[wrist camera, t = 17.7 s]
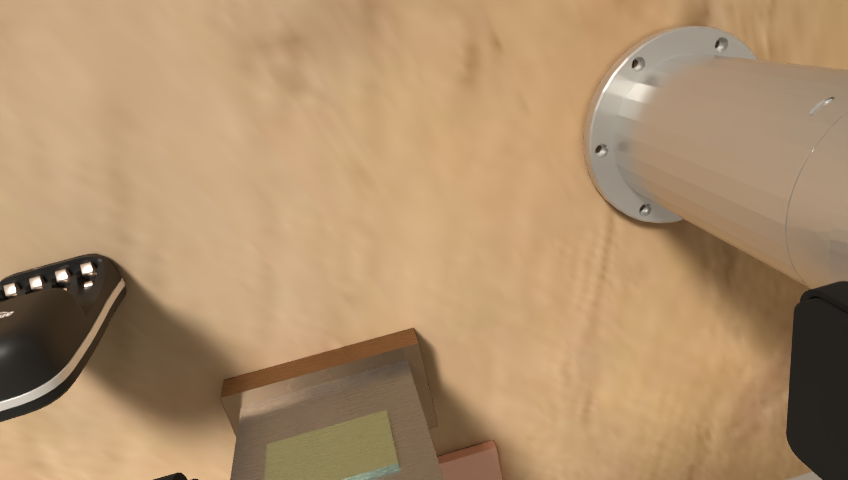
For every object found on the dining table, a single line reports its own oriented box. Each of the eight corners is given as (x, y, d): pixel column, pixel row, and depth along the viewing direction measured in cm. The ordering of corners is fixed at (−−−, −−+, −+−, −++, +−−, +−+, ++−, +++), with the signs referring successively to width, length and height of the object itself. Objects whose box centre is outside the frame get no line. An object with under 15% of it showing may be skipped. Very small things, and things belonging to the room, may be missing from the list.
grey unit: (413, 327, 41) (465, 475, 28) (432, 408, 43) (488, 575, 31) (223, 380, 39) (187, 559, 26) (255, 459, 42) (237, 658, 29)
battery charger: (107, 234, 34) (24, 332, 24) (134, 290, 36) (67, 406, 26) (-17, 267, 34) (-158, 384, 23) (16, 323, 35) (-103, 456, 25)
